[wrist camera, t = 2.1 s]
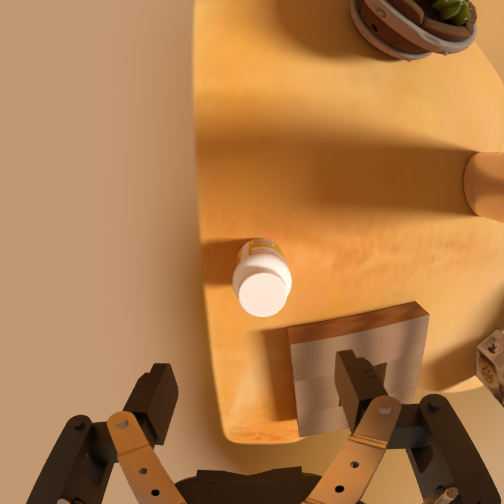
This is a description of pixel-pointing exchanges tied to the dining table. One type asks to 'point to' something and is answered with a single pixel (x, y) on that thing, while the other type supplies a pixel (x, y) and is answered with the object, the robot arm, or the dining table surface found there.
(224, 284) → the dining table surface
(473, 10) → the flowerpot
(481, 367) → the coffee box
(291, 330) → the socket board
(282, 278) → the supplement bottle
